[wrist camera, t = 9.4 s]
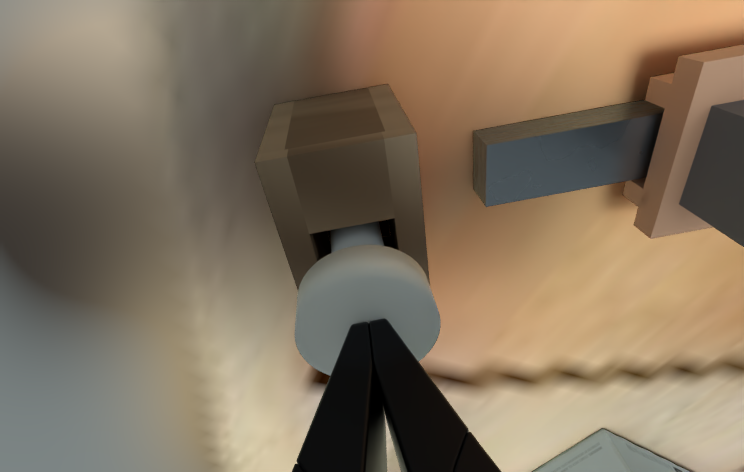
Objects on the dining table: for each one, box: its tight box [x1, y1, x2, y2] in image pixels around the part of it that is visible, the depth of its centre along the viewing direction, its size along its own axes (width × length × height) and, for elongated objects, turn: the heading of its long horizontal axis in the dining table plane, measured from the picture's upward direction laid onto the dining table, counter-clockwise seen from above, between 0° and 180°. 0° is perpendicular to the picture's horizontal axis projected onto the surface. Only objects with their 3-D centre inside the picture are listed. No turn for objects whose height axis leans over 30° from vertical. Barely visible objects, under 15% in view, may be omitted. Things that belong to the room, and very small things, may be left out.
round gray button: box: [295, 221, 440, 376], centre depth 12 cm, size 3×3×7 cm
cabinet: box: [254, 84, 430, 289], centre depth 14 cm, size 7×4×5 cm, turn 9°
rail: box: [473, 100, 665, 207], centre depth 15 cm, size 2×18×2 cm, turn 99°
